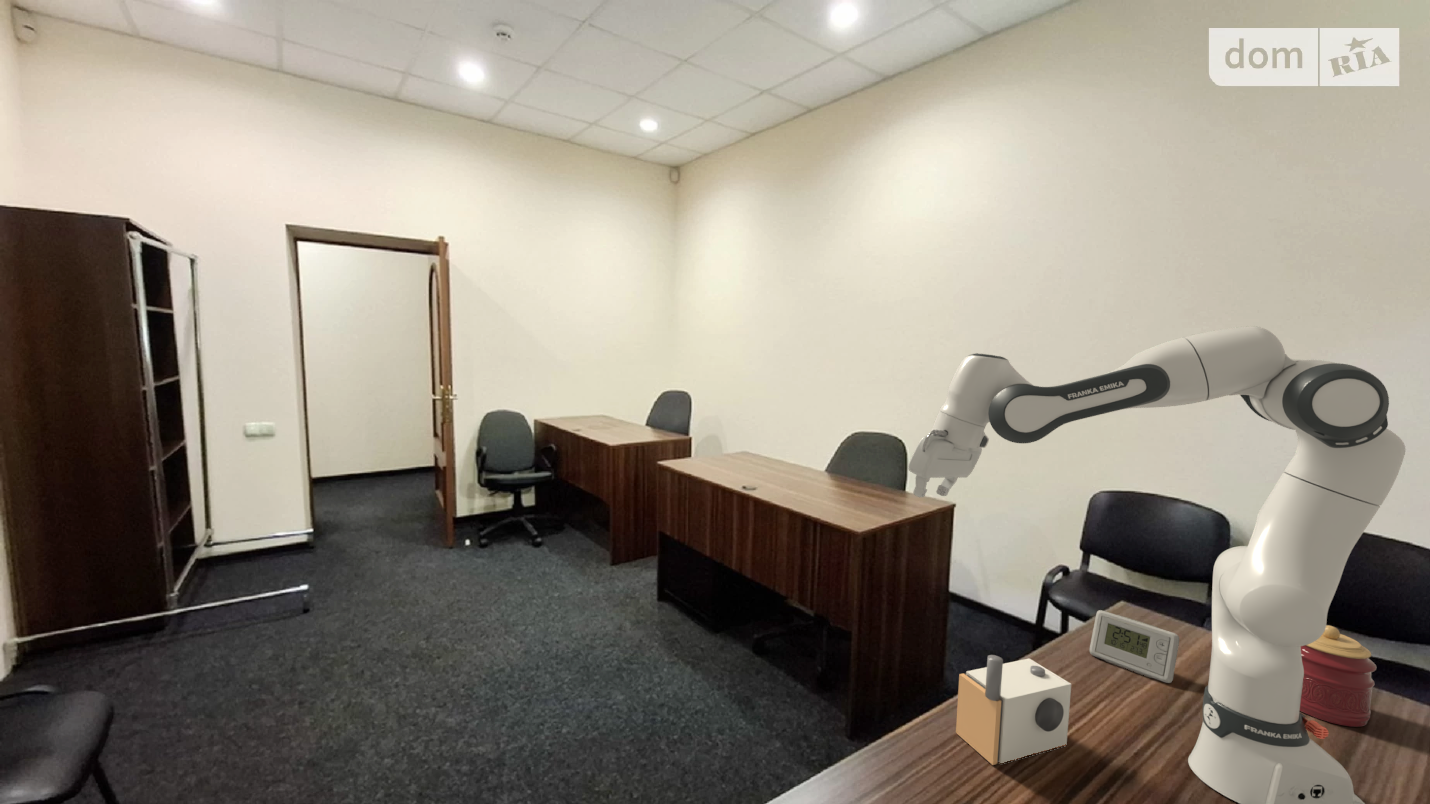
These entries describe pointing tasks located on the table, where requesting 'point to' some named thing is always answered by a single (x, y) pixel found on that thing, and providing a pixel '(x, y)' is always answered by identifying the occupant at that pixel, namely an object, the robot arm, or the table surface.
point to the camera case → (1029, 708)
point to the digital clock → (1135, 646)
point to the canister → (1337, 679)
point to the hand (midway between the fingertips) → (929, 495)
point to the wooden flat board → (981, 710)
